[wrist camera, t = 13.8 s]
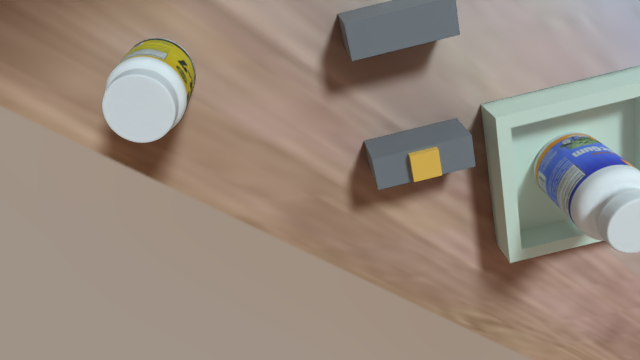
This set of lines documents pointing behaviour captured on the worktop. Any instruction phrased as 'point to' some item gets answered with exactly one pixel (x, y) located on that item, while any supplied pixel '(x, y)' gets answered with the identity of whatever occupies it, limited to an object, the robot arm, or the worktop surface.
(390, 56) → the worktop surface
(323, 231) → the worktop surface
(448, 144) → the block
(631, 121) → the tray
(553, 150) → the pill bottle
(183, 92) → the supplement bottle
